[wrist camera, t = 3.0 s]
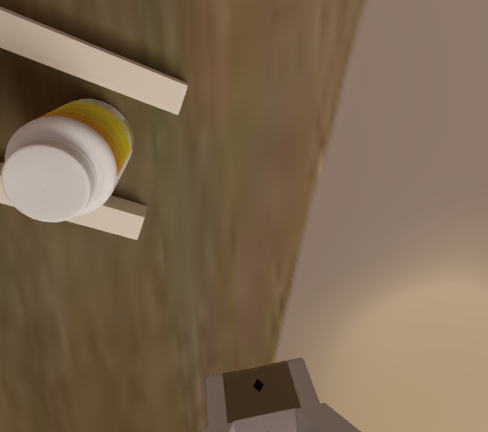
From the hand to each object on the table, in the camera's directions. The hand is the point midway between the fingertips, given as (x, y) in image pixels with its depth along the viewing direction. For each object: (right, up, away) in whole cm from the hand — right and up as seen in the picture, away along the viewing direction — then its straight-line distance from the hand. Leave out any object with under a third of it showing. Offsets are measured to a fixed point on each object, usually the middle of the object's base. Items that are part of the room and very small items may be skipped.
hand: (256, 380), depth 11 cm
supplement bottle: (-11, +11, +15) cm, 22 cm away
